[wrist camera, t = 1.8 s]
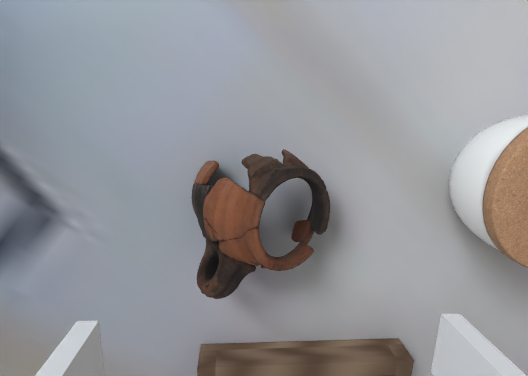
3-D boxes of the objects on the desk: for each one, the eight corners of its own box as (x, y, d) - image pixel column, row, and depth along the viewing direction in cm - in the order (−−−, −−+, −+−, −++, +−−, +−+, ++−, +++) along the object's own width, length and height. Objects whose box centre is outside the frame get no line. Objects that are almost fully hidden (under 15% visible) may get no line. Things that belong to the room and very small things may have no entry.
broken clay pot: (212, 122, 26) (274, 128, 19) (289, 170, 31) (357, 188, 25) (144, 261, 25) (185, 317, 18) (236, 285, 31) (293, 334, 24)
